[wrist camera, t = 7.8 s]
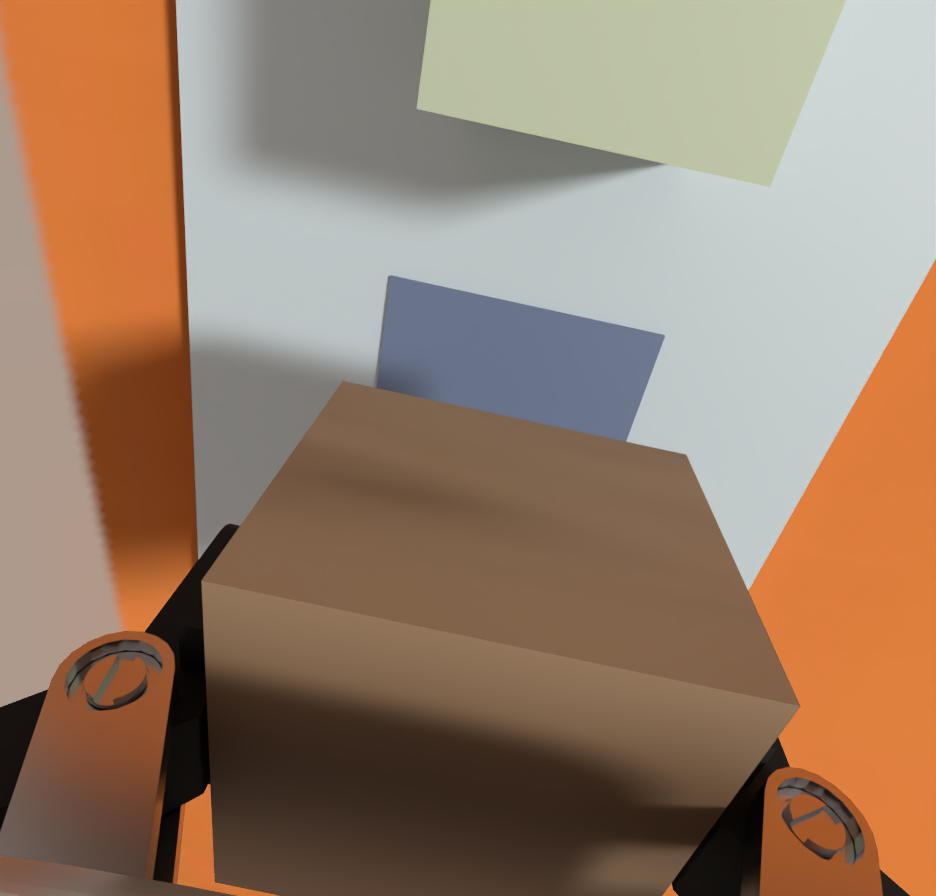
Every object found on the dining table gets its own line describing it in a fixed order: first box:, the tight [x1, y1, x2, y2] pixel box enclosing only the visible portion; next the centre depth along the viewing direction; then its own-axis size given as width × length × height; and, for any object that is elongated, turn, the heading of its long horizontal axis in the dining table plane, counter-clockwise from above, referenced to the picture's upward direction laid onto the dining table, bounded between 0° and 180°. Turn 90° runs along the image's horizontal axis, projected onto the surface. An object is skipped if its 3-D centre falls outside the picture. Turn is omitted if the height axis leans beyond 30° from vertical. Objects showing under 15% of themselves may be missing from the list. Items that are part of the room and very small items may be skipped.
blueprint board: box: [176, 0, 936, 590], centre depth 17 cm, size 28×18×1 cm, turn 169°
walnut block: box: [201, 381, 800, 896], centre depth 10 cm, size 6×6×5 cm
